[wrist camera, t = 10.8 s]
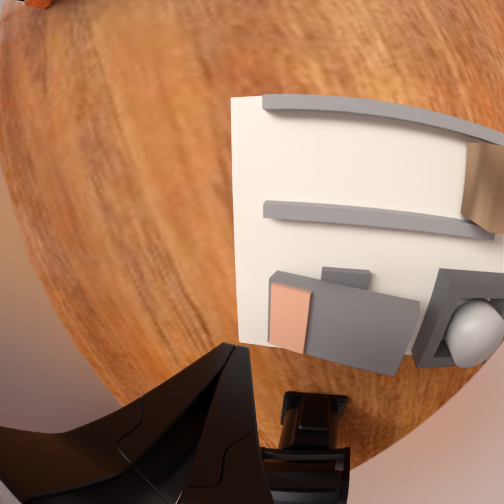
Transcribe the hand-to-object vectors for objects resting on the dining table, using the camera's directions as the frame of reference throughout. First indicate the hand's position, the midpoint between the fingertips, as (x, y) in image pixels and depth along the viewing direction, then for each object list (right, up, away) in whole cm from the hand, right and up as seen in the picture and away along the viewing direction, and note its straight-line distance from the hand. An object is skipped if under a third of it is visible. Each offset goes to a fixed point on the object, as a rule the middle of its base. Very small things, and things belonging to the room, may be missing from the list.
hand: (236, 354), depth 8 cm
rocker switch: (+6, -1, +8) cm, 10 cm away
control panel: (+11, +4, +9) cm, 14 cm away
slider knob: (+14, +7, +3) cm, 17 cm away
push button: (+16, -2, +6) cm, 17 cm away
